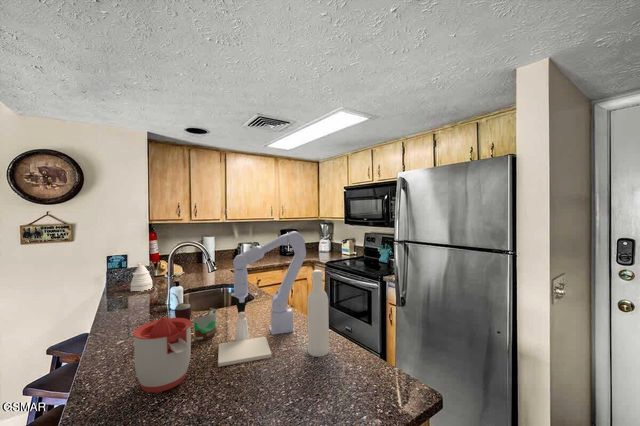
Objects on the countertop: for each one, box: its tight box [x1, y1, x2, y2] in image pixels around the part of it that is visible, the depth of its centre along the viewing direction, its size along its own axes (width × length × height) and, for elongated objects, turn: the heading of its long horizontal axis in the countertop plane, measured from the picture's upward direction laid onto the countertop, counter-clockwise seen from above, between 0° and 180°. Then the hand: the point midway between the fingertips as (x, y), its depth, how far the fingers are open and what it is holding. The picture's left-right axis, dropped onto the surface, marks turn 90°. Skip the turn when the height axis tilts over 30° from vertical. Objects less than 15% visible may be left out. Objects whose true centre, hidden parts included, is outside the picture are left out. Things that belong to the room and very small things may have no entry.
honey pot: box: [130, 262, 153, 292], centre depth 195 cm, size 13×13×18 cm
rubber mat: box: [217, 336, 273, 368], centre depth 105 cm, size 18×15×1 cm
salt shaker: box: [235, 311, 250, 341], centre depth 115 cm, size 5×5×11 cm
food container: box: [192, 307, 218, 342], centre depth 118 cm, size 12×6×10 cm, turn 169°
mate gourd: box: [171, 292, 192, 321], centre depth 136 cm, size 8×8×15 cm
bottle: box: [306, 269, 330, 358], centre depth 104 cm, size 8×8×30 cm
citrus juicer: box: [132, 316, 192, 394], centre depth 86 cm, size 16×17×20 cm
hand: (241, 314), depth 121 cm, fingers closed
